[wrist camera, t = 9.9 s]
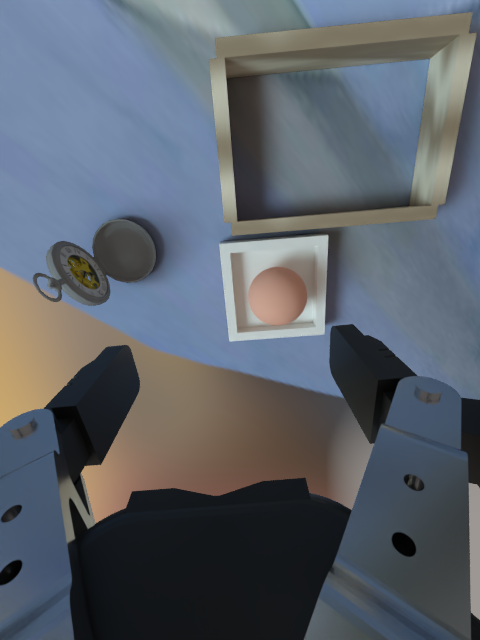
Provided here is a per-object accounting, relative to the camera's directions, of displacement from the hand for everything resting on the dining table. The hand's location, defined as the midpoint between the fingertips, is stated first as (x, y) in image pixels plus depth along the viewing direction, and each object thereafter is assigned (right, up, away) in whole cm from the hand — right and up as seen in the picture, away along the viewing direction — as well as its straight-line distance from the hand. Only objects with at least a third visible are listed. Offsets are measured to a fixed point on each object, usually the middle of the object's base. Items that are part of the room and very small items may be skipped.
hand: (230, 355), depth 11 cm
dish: (+4, +5, +20) cm, 22 cm away
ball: (+4, +5, +20) cm, 21 cm away
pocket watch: (-13, +9, +19) cm, 25 cm away
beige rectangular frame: (+9, +18, +15) cm, 25 cm away
